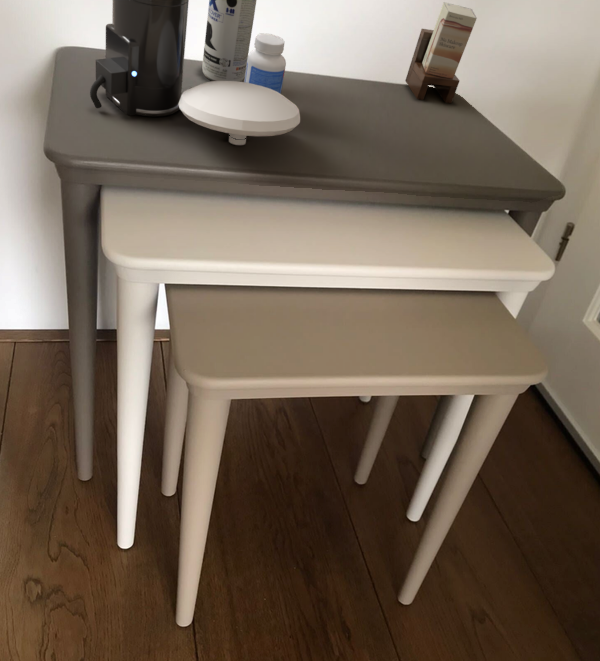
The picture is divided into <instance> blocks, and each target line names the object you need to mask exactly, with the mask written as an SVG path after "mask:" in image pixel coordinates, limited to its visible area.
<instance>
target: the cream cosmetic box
mask: <svg viewBox="0 0 600 661" xmlns="http://www.w3.org/2000/svg"><path fill="white" fill-rule="evenodd" d="M477 19H478V17H477V15H476V13H475V11H474V9H473V8H470V7H466V6H462V5H460V4H459V5H458V4H454V3H449V2H445V1H444V2H443V3H442V6H441V9H440V11H439V14H438V17H437V20H436V23H435V25H434V27H433V28H434V29H433V30H434V31H433V34H432V37H431V39H430V42H429V45H428V48H427V51H426V54H425V56H424V59H423V62H422V64H423V67H424V69H425V72H426V73H428V74H433V75H437V76H441V77H446V78H451V79H453V78H454V75H456V73H457V70H458V67H459V64H460V63H461V61H462V60H461V59H462V57H463V55H464V52H465V50H466V47H467V45H468V41H469V40H470V37H471V34H472V31H473V29H474V27H475V24H476V21H477Z"/></svg>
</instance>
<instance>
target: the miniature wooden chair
mask: <svg viewBox="0 0 600 661" xmlns="http://www.w3.org/2000/svg"><path fill="white" fill-rule="evenodd" d="M433 31H434V29H427V28H421V29H420V31H419V32H420V33H419V36H418V38H417V42H416V45H415V49H414V52H413V54H412V58H411V61H410V64H409V68H408V70H407V73H406V77H405V80H404V81H405V83H406V85H407V86H408V88H409V90H411V92H412V94H413V95H414V97H415V98H416V100H422V101H423V100H424V99H425V96H426V93H427V92H428V91H427V90H428V87H429V86H433V87H434V89H435V90H436V91H437V93H438V94H439V96H440V97H441V99H442V100H443V101H444V103H447V104H452V103H453V100H454V97H455V94H456V93H457V90H458V87H459V83H460V79H459V77H457V75H456V74H455V75H454V78H453V79H451V78H446V77H441V76H437V75H433V74H428V73H426V72H425V69H424V67H423V64H422V62H423V59H424V56H425V54H426V51H427V48H428V45H429V42H430V39H431V37H432V34H433Z"/></svg>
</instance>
